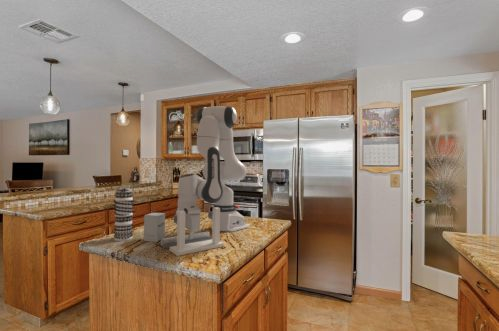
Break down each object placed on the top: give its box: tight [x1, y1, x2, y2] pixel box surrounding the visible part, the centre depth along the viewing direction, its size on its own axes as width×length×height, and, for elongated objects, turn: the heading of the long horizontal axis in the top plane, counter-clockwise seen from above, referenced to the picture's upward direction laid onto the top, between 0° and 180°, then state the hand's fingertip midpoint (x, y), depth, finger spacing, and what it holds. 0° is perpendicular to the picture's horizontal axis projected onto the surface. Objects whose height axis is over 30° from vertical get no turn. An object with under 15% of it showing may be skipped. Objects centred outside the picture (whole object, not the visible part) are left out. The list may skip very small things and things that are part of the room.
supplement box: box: [143, 212, 166, 243], centre depth 130 cm, size 7×7×13 cm
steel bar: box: [160, 231, 211, 245], centre depth 127 cm, size 24×2×2 cm, turn 128°
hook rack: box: [169, 207, 224, 257], centre depth 118 cm, size 22×8×18 cm, turn 128°
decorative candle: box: [113, 187, 135, 242], centre depth 131 cm, size 9×9×25 cm
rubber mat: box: [158, 236, 212, 250], centre depth 127 cm, size 24×8×1 cm, turn 128°
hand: (186, 236), depth 127 cm, fingers open, 8 cm apart
